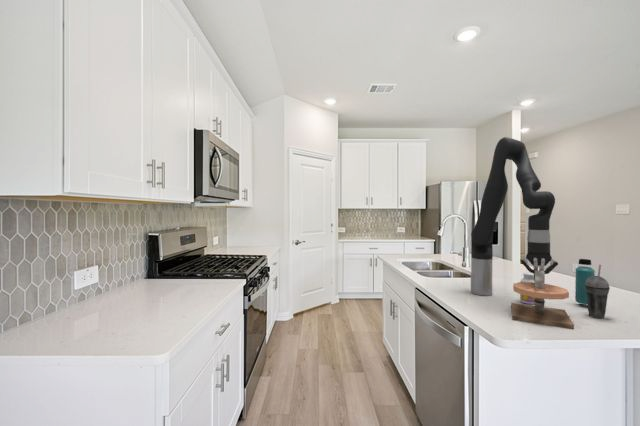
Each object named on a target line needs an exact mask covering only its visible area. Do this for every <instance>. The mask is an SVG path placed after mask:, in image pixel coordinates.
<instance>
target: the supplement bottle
mask: <svg viewBox="0 0 640 426" xmlns="http://www.w3.org/2000/svg"><path fill="white" fill-rule="evenodd" d="M522 274H523V278H521V279H520V282H534V283H535V281H534V274H533V273H530V272H523V273H522ZM519 298H520V299H519V300H520V302H521V303H522V304H523V303H524V304H525V305H535V302H534V299H535V298H534V297H530V296H525V295H521V294H520V297H519Z"/></svg>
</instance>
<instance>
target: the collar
mask: <svg viewBox="0 0 640 426" xmlns="http://www.w3.org/2000/svg"><path fill="white" fill-rule="evenodd" d="M513 292H514V293H517V294H521V295H525V296H530V297H534V298H542V299H544V300H565V299H568V298H570V292H569V291H568V289H567V288H564V287H561V286H558V285H553V284H550V283H548V284H547V283H545V289H538V288H535V283H534V282H521V281H519V282H515V283H513Z"/></svg>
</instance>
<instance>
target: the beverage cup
mask: <svg viewBox="0 0 640 426" xmlns="http://www.w3.org/2000/svg"><path fill="white" fill-rule="evenodd" d="M601 268H602V264H598V272H597V275H595V276H592V277H589V278H588V279H587V280H586V282H585V289H586V292H587V303H588V305H587V312H588V316H589V317H591V318H594V319H601V320H602V319H603V320H604V319H605V316H606V311H607V304H608V296H609V293H610V284H609V282H608V280H607V279H605V278H604V277H601V276H600V274H601Z"/></svg>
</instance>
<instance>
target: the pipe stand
mask: <svg viewBox="0 0 640 426" xmlns="http://www.w3.org/2000/svg"><path fill="white" fill-rule="evenodd" d="M545 275H546V274H545V272H544V271H539V270H538V271H535V288H538V289H545V284H546V282H545V280H546V279H545ZM534 302H535V304H534V305H533V304H525V303H524V304H523V303H515V302H511V304H510V306H511V308H512V309H511V317H512V320H513V321H517V320H520V321H519V322H524V321H525V322H526V323H530V322H531V323H532V324H537V325H545V326H551V327H556V328H557V327H558V328H564V329H569V330H574V329H575V324H574V323H573V321H572V319H571V318H570V315H568V312H567V311H566V309H563V308H561V309H560V308H553V307H546V306H545V304H546V301H545V299H542V298H535V299H534Z"/></svg>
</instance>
